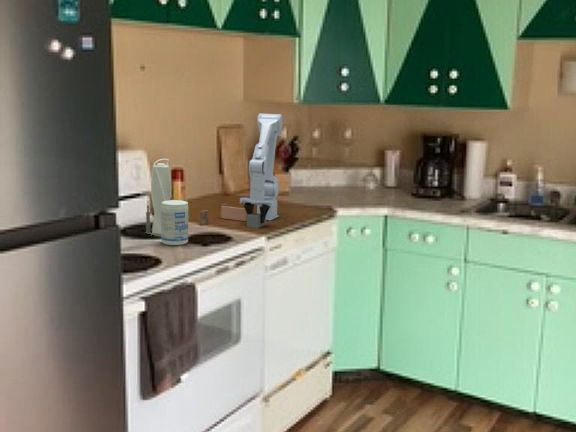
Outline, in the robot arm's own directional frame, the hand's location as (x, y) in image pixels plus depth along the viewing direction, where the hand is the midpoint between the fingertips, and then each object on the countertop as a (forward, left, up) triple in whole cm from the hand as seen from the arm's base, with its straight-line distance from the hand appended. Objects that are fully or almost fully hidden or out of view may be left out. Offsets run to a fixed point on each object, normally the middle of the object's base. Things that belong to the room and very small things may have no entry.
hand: (256, 222), depth 267 cm
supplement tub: (+40, -13, -2) cm, 42 cm away
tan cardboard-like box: (+1, -19, -1) cm, 19 cm away
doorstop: (0, 0, -2) cm, 2 cm away
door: (-5, -13, -1) cm, 14 cm away
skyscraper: (+31, -25, -2) cm, 40 cm away
